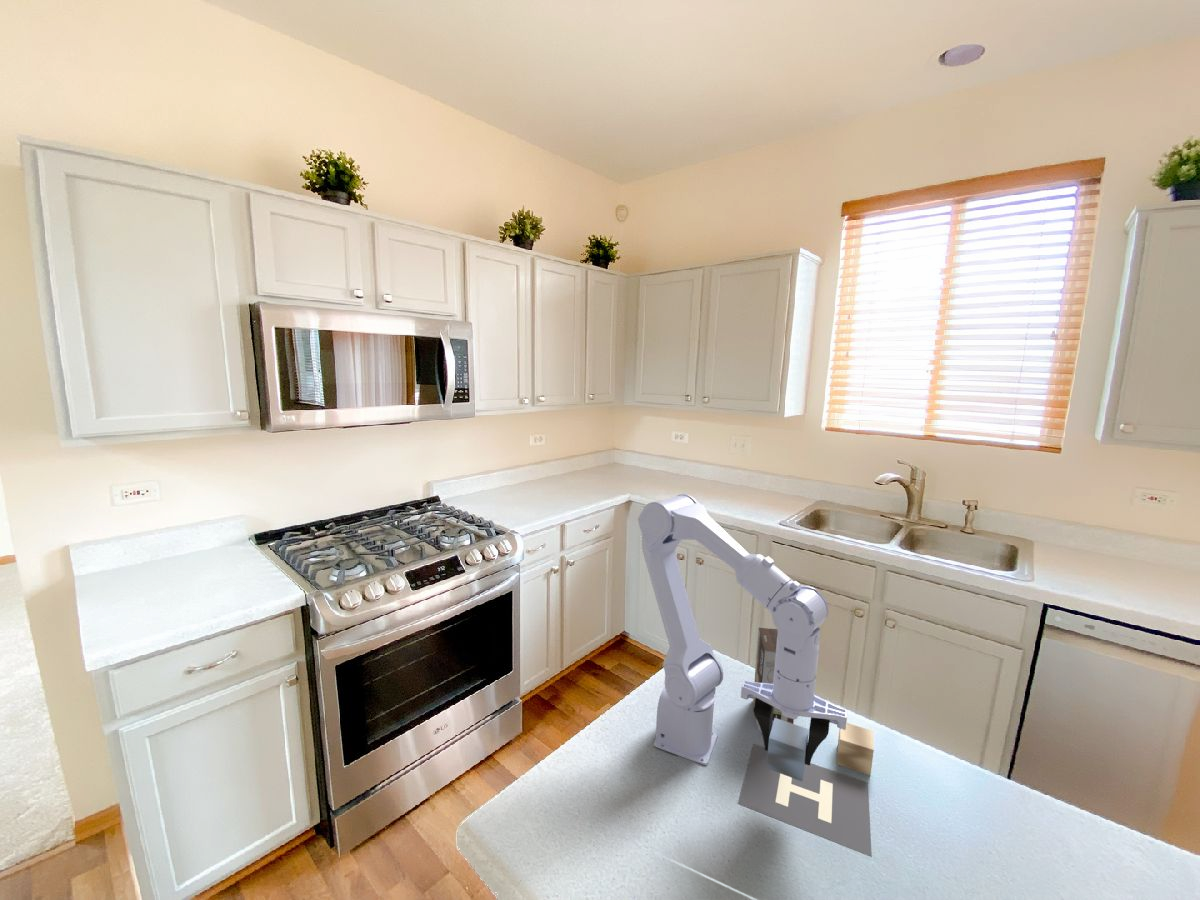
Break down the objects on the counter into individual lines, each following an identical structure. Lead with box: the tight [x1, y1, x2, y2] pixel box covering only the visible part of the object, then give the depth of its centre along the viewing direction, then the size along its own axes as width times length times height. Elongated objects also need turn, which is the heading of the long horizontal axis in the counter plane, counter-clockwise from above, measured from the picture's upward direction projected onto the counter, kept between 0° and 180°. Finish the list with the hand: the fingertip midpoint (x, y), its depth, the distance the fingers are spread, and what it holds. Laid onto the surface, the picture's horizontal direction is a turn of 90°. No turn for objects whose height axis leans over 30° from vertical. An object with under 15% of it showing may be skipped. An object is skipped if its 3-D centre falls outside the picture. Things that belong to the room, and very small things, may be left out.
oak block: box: [836, 722, 875, 776], centre depth 85 cm, size 5×5×5 cm
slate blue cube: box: [766, 718, 809, 781], centre depth 75 cm, size 5×5×5 cm
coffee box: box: [752, 627, 795, 732], centre depth 94 cm, size 9×6×16 cm
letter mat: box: [737, 743, 873, 858], centre depth 78 cm, size 18×14×1 cm
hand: (787, 753), depth 75 cm, fingers closed on slate blue cube, 5 cm apart
